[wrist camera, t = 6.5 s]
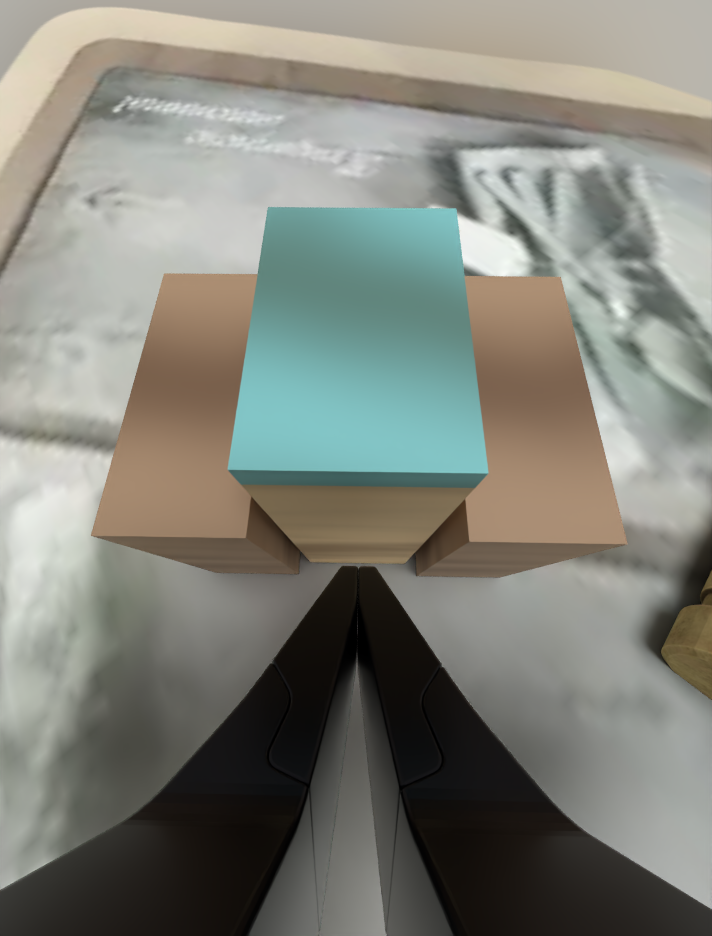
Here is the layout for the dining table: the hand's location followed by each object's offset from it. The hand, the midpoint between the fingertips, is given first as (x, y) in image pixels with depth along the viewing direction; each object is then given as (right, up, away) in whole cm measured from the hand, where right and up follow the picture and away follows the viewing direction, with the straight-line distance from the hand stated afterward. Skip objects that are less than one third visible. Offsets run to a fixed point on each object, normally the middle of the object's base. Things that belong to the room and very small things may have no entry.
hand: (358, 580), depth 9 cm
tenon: (0, +2, +8) cm, 8 cm away
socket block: (0, +2, +8) cm, 8 cm away
